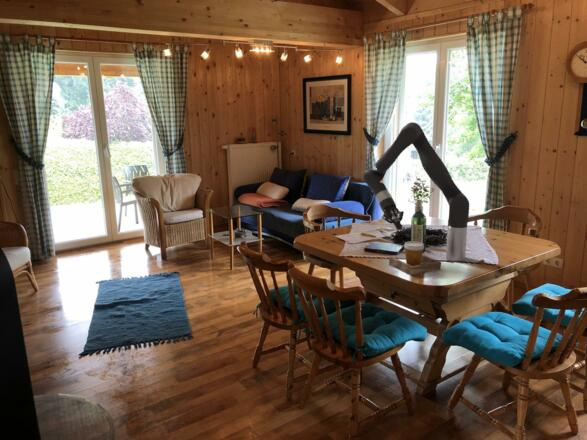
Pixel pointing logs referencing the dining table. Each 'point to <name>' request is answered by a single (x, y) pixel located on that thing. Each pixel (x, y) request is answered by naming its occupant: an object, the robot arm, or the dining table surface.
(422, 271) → the walnut bay
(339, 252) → the dining table surface
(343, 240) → the dining table surface
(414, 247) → the amber cup
